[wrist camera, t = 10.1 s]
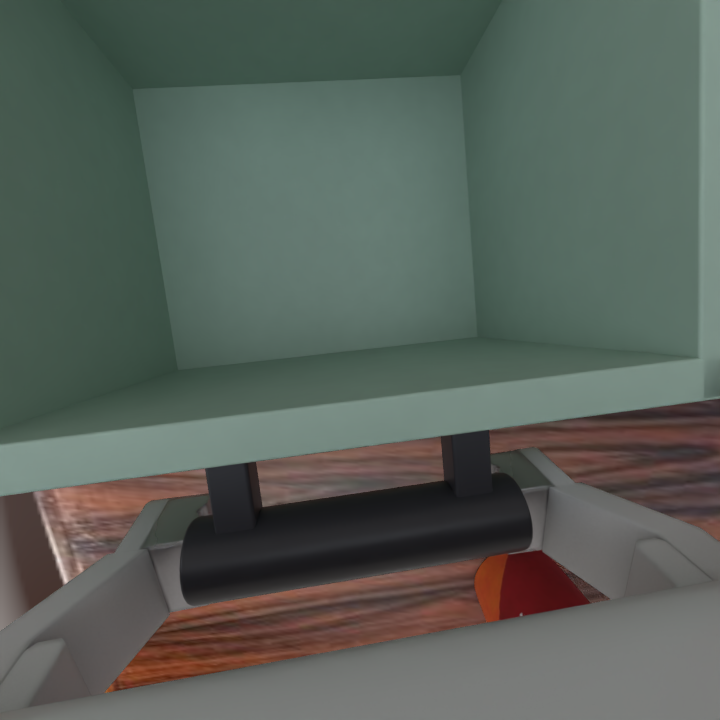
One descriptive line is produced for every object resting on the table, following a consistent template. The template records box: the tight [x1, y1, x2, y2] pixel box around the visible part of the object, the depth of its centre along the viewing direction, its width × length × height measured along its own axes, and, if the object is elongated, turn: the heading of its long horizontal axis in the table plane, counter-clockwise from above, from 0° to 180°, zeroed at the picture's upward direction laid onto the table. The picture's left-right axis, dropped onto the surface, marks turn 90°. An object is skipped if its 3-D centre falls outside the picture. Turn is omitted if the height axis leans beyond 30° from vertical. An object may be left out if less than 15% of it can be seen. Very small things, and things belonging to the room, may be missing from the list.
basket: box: [0, 0, 720, 606], centre depth 10 cm, size 10×14×15 cm
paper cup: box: [474, 550, 591, 623], centre depth 18 cm, size 8×8×14 cm
